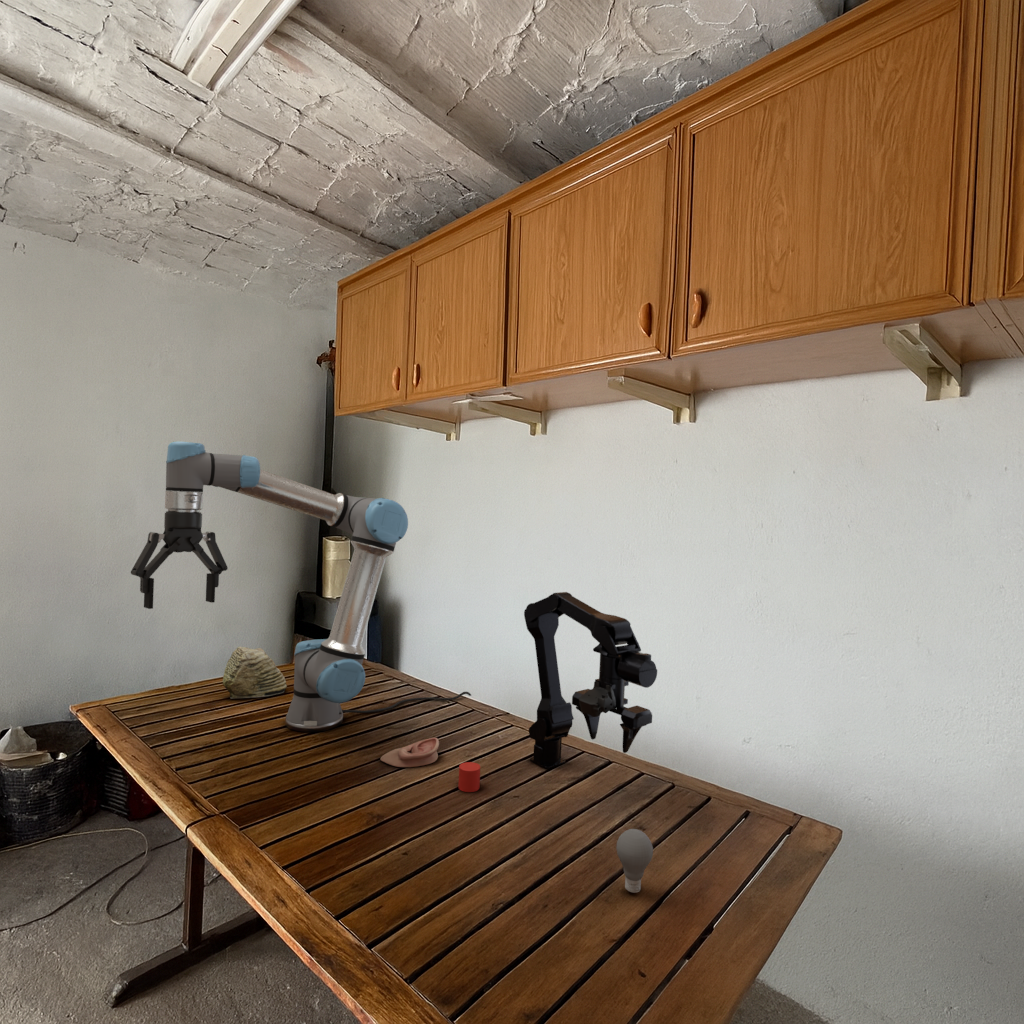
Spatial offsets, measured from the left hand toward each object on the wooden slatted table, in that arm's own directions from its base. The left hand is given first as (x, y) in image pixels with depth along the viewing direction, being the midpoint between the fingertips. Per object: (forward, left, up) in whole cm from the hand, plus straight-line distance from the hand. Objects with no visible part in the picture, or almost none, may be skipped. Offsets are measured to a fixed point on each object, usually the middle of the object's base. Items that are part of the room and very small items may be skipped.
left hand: (180, 604), depth 143 cm
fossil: (-40, -37, -38) cm, 66 cm away
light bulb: (-31, +99, -38) cm, 111 cm away
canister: (-40, +54, -38) cm, 77 cm away
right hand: (-59, +78, -26) cm, 101 cm away
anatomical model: (-41, +33, -38) cm, 65 cm away
